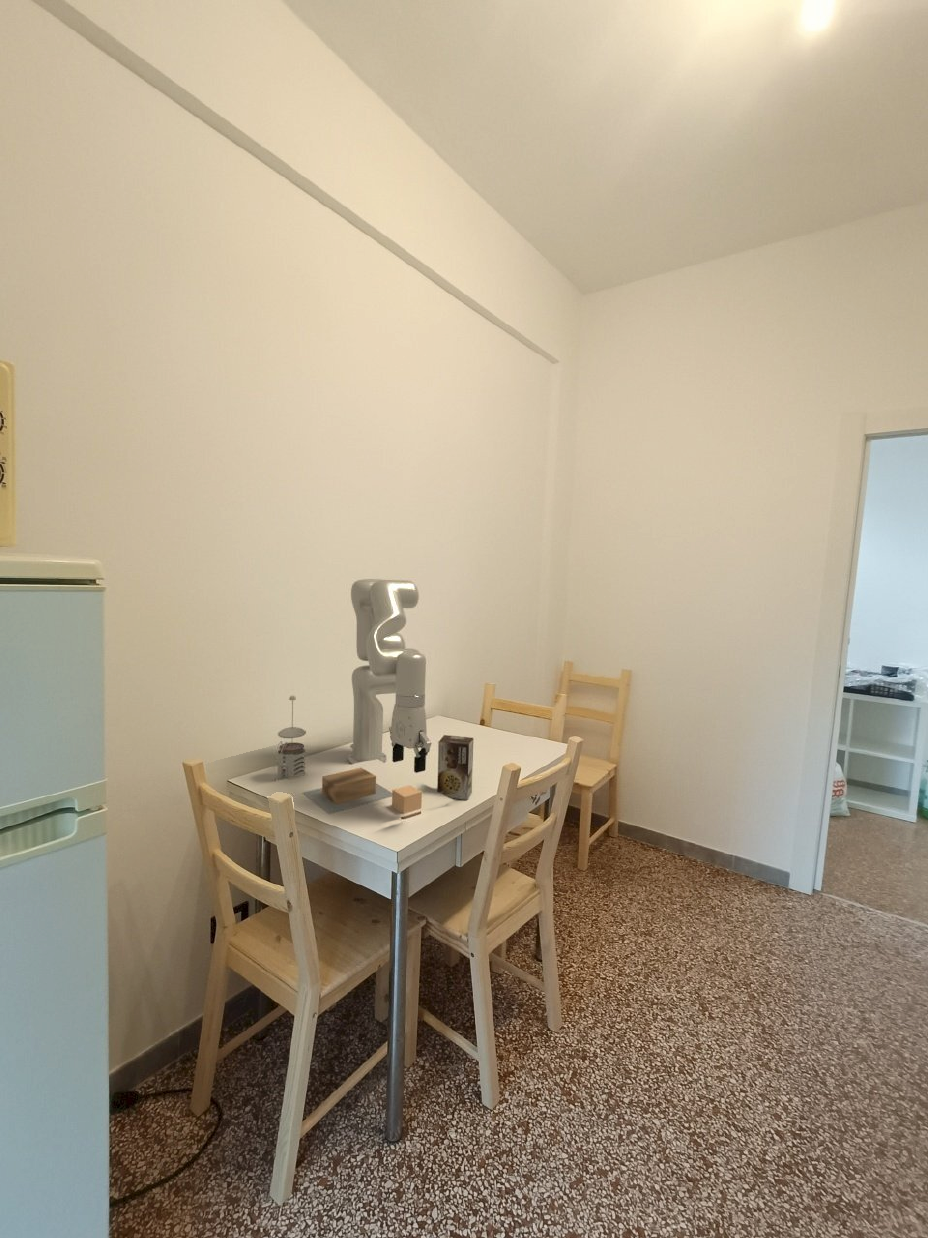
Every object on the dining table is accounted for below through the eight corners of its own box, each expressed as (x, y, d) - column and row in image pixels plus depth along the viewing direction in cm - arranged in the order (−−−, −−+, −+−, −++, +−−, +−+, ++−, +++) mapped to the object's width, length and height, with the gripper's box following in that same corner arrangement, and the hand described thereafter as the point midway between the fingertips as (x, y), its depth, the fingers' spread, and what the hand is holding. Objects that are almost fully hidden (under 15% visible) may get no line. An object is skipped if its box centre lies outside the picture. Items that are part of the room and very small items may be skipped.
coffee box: (472, 791, 158) (474, 737, 156) (467, 800, 151) (469, 744, 150) (442, 787, 160) (444, 734, 158) (435, 796, 153) (438, 740, 152)
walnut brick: (322, 794, 148) (322, 776, 148) (360, 784, 156) (361, 767, 155) (336, 804, 142) (336, 786, 142) (375, 793, 150) (376, 776, 149)
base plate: (301, 798, 149) (301, 793, 148) (365, 782, 162) (365, 777, 162) (328, 819, 137) (329, 814, 136) (395, 800, 150) (395, 795, 149)
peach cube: (391, 812, 143) (392, 790, 142) (409, 806, 146) (409, 785, 146) (403, 819, 138) (404, 797, 138) (421, 814, 142) (421, 792, 142)
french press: (314, 774, 166) (316, 693, 164) (293, 788, 155) (294, 702, 153) (286, 770, 169) (287, 690, 167) (263, 783, 158) (264, 698, 155)
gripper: (379, 696, 144) (378, 760, 145) (418, 709, 131) (416, 779, 132) (403, 693, 149) (401, 755, 150) (442, 705, 136) (440, 772, 137)
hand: (408, 766), depth 141 cm, fingers open, 9 cm apart
